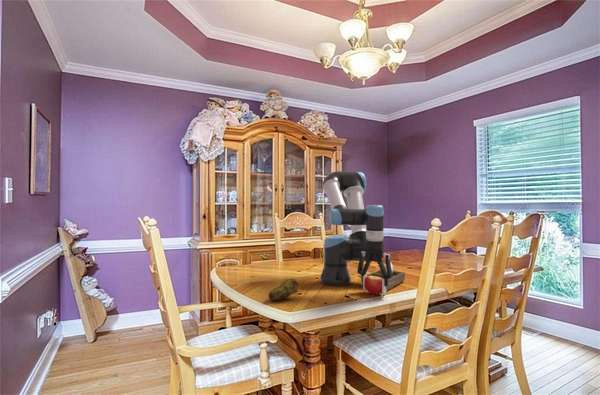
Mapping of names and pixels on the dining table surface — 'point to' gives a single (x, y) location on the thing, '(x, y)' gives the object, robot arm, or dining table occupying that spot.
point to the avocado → (284, 290)
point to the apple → (373, 284)
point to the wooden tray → (392, 281)
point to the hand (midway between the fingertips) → (374, 291)
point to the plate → (391, 267)
